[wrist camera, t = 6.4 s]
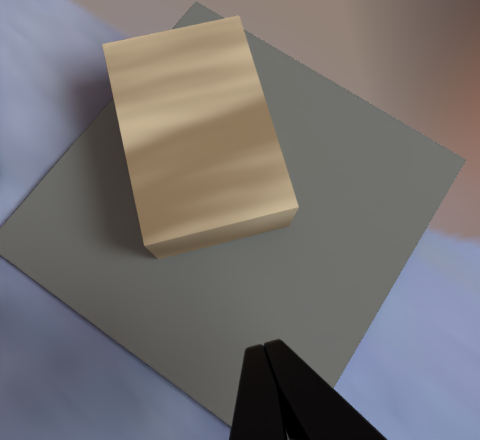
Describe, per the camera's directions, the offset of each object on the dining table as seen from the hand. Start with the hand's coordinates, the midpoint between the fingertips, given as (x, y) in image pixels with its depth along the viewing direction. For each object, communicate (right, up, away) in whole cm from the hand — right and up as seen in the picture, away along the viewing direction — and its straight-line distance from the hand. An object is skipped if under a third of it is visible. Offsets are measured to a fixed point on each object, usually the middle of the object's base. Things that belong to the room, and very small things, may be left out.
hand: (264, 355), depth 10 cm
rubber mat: (-1, +4, +10) cm, 11 cm away
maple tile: (-1, +2, +8) cm, 8 cm away
